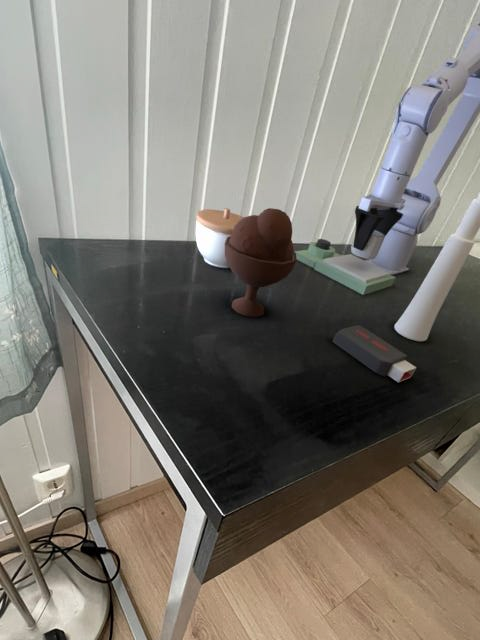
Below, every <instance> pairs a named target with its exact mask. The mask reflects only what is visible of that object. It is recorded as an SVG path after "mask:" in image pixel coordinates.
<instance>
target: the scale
mask: <svg viewBox="0 0 480 640" xmlns="http://www.w3.org/2000/svg"><path fill="white" fill-rule="evenodd" d="M313 270H314V271H316V272H318V273H320V274H322V275H324V276H326V277H328V278H330V279H331V280H333V281H335V282H338V283H339V284H340V285H343V286H345V287H347V288H348V289H351V290H353V291H355V292H356V293H358V294H361V295H362V296H364V295H368V294H371V293H374V292H377V291H380V290H383V289H386V288H390V287H392V286H393V284H394V282H395V280H396V276H394V275H391V273H389V272H387V271H385V270H383V269H381V268H379V267H377V266H375V265H372V264H370V263H368V262H366V261H365V260H364V259H363V258H362V259H361V257H359V256H357V255H354V254H351V253H350V254H343V255H342V256H337V257H332V258H326V259H322V260H317V261H316V264H315V267H314V268H313Z"/></svg>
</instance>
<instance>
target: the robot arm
mask: <svg viewBox="0 0 480 640" xmlns="http://www.w3.org/2000/svg"><path fill="white" fill-rule="evenodd" d="M460 95H461V97H460V99H459V101H458V103H457V104H456V106H455V108H454V110H452V112H451V115H450V116H449V118H448V120H447V122H446V124H445V126H444V127H443V128H442V130H441V132H440V135H439V136H438V138H437V140H436V142H435V143H434V144H433V147H432V148H431V150H430V152H429V154H428V156H427V158H426V159H425V161H424V163H423V164H422V166H421V168H420V170H419V172H418V174H417V175H416V176H415V177H413V178H411V177H412V174H413V172H414V170H415V168H416V165H417V163H418V160H419V158H420V157H421V154H422V151H423V148H424V146H425V145H426V142H427V139H428V137H429V136H430V134H433V132H435V131H436V129H437V128H438V126H439V125H440V122H441V121H442V119H443V117H444V116H445V115H446V113H447V112H448V107H449V106H450V105H451V104H452V103H453V102H454V101H455V100H456V99H457V98H458V97H459V96H460ZM479 114H480V20H478V21H477V22H476V23H475V24H474V25H473V26H472V27H471V29H470V30H469V32H468V34H467V36H466V38H465V41H464V43H463V46H462V49H461V52H460V53H459V55H458V56H457V57H448V59H447V60H446V61H444V62H443V63H442V64H441V65H440V66H439V67H437V69H435V71H433V72H432V73H431V74H430V75H429V76H428V78H426V79H425V80H424V81H423V82H422V83H421V84H419V83H415V84H412V86H410V87H408V88H407V89H406V90H405V91H404V93H403V94H402V96H401V98H400V101H398V104H397V107H396V111H395V115H394V116H395V117H394V123H393V126H392V129H391V134H390V137H391V140H390V143H389V145H388V147H387V151H386V153H385V156H384V159H383V161H382V164H381V167H380V169H379V173H378V175H377V177H376V180H375V182H374V185H373V188H372V191H371V192H370V193H369V194H368V195H365V196H361V200H360V201H359V204H358V205H356V207H355V209H354V214H355V232H354V238H353V240H354V245H353V247H354V248H356V249H358V250H361V251H363V250H364V248H365V247H366V245H367V243H368V241H369V239H370V237H371V235H372V233H373V232H374V230H377V231H379V232H381V233H383V234H384V235H385V238H384V241H383V243H382V245H381V248H380V250H379V252H378V255H377V257H375V258H374V259H365V260H364V261H366V262H368V263H370V264H372V265H375V266H377V267H379V268H381V269H383V270H385V271H387V272H389V273H391V275H392V276H394V275H397V274H400V273H404V272H408V271H409V270H410V268H409V267H407V265H408V263H409V262H410V259H411V257H412V255H413V254H414V251H415V250H416V247H417V245H418V242H419V237H418V235H420V234H423V233H425V232H426V231H427V230H428V228H429V227H430V226H431V224H432V222H433V220H434V218H435V216H436V214H437V212H438V209H439V207H440V206H441V201H442V196H441V193H440V191H439V189H438V185H439V182H440V181H441V179H442V178H443V176H444V175H445V173H446V171H447V169H448V168H449V166H450V165H451V162H452V161H453V159H454V157H455V155H456V154H457V152H458V150H459V149H460V147H461V145H462V143H463V142H464V140H465V138H466V137H467V135H468V133H469V132H470V130H471V128H472V127H473V125H474V123H475V121H476V119H477V118H478V116H479Z"/></svg>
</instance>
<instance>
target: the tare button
mask: <svg viewBox="0 0 480 640" xmlns="http://www.w3.org/2000/svg"><path fill="white" fill-rule="evenodd" d="M316 242H317V244H316V247H318V248H320V249H324V250H329V247H330V246H331V241H329V240H327V239H324V238H318V239H317V241H316Z"/></svg>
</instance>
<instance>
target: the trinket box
mask: <svg viewBox="0 0 480 640" xmlns="http://www.w3.org/2000/svg"><path fill="white" fill-rule="evenodd" d="M244 217H245V216H243V215H239V214H236V213H233V212H231V209H230V208H228V207H225V208H224V210H219V209H202V210H201V209H200V210H199V211H197V213H196V217H195V220H196V223H195V241H196V242H195V243H196V246H197V249H198V251H199V253H200V255H201V256H202V257H203V260H204V262H205V263H207V264H208V265H211V266H213V267H216V268H221V269H222V268H223V269H230V267H229V266H228V264H227V261H226V257H225V241H226V239H227V237H230V236H231V235H232V232H233V229H234V226H235V225H236V224H237V223H238V221H240V220H241V219H243V218H244Z"/></svg>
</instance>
